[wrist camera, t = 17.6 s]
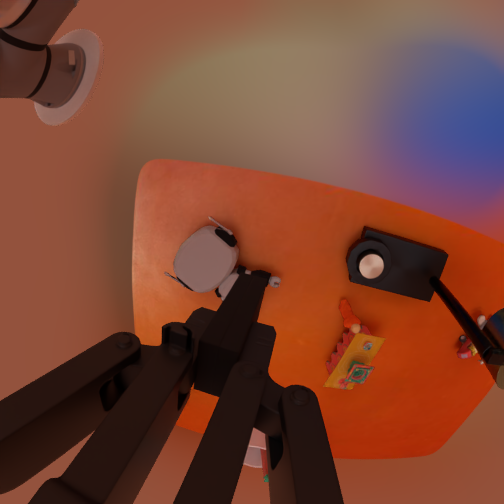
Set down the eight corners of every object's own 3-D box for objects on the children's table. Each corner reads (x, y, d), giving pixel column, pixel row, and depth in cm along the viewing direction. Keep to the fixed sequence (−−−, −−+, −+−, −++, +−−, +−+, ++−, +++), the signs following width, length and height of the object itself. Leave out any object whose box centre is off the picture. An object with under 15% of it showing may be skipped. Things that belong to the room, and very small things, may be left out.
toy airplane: (449, 348, 42) (461, 369, 36) (472, 306, 39) (487, 324, 33) (480, 354, 41) (492, 373, 35) (502, 315, 38) (518, 332, 32)
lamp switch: (354, 270, 39) (355, 275, 37) (361, 247, 37) (363, 251, 36) (376, 276, 38) (378, 281, 36) (384, 253, 37) (387, 257, 35)
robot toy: (287, 272, 45) (213, 207, 43) (286, 285, 41) (204, 214, 39) (237, 318, 50) (170, 261, 48) (232, 333, 46) (158, 272, 44)
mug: (289, 430, 56) (283, 466, 46) (253, 433, 58) (243, 467, 49) (273, 399, 53) (264, 438, 44) (234, 404, 56) (220, 440, 46)
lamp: (420, 301, 37) (468, 388, 20) (437, 256, 35) (506, 325, 17) (467, 313, 36) (521, 390, 18) (485, 272, 34) (554, 336, 16)
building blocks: (257, 431, 53) (261, 486, 40) (334, 296, 42) (367, 356, 29) (310, 436, 55) (320, 487, 42) (396, 313, 44) (437, 366, 31)
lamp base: (338, 273, 43) (339, 284, 39) (353, 222, 40) (357, 229, 36) (425, 296, 41) (433, 307, 37) (443, 250, 38) (453, 258, 34)
